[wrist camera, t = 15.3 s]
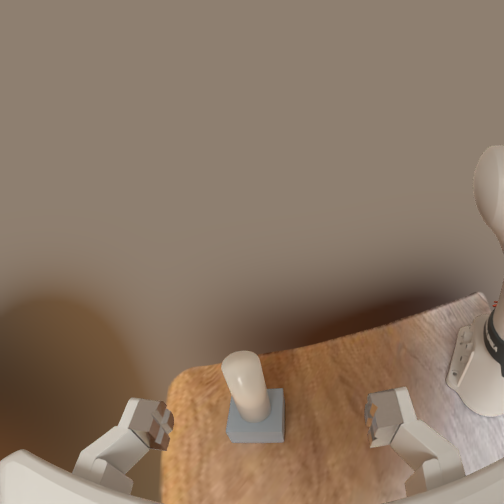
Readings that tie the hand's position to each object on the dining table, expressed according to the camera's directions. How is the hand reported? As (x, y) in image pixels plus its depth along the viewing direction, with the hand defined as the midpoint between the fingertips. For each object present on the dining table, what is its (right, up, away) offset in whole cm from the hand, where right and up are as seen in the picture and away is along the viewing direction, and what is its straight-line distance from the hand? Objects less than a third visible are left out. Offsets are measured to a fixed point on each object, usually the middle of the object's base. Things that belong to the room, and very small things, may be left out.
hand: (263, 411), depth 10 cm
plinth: (+1, -21, +30) cm, 37 cm away
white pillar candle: (0, -17, +29) cm, 33 cm away
